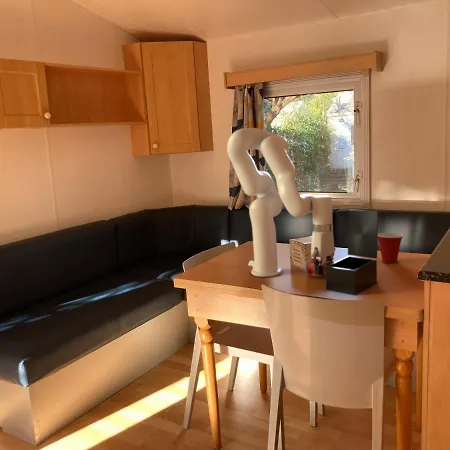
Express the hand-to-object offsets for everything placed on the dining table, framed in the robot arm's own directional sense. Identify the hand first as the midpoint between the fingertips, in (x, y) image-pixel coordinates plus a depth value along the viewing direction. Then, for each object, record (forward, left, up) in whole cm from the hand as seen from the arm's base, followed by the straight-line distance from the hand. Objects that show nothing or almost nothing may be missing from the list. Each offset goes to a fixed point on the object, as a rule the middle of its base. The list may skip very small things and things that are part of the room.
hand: (324, 272), depth 194 cm
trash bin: (+14, -4, -2) cm, 15 cm away
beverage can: (0, 0, -2) cm, 2 cm away
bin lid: (+14, +5, +16) cm, 22 cm away
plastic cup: (+12, +33, -2) cm, 35 cm away
